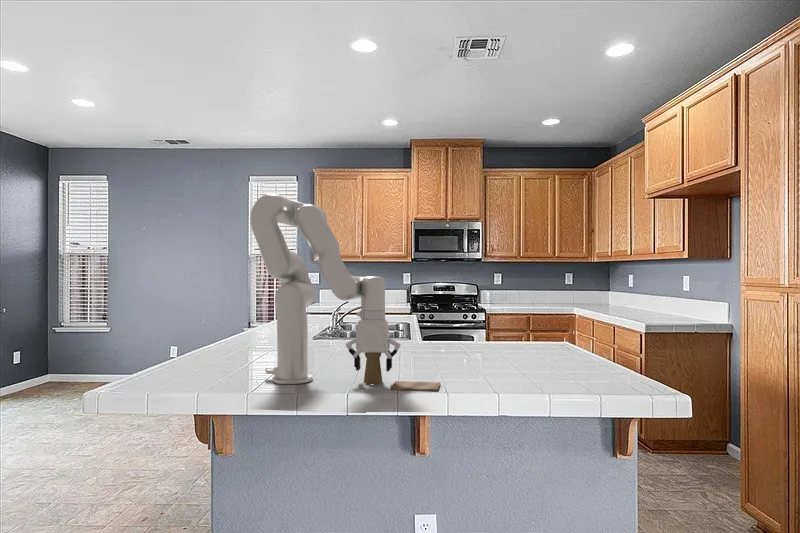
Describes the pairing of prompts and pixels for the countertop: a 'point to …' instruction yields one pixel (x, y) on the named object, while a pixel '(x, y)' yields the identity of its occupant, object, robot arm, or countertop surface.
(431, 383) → the walnut board
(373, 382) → the cork
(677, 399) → the countertop surface
